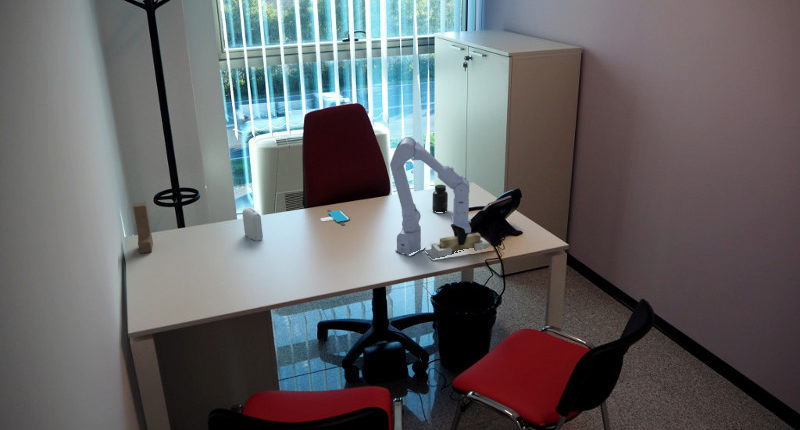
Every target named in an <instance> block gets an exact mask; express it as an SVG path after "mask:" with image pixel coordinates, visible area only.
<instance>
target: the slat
mask: <svg viewBox="0 0 800 430" xmlns="http://www.w3.org/2000/svg"><path fill="white" fill-rule="evenodd" d="M480 236H481V237H482V235H481V233H479V232H475V233H474V232H473V233H472V232H471V233H468V235H467V238H466V241H465V244H464V245H459V243H458V236H454V235H453V236H446V237H441V238H439V243H440V249H443V248H449V247H450V248H451V249H452V251H457V250H463V249H469V248H474V244H475V243H480Z"/></svg>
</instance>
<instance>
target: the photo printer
mask: <svg viewBox="0 0 800 430" xmlns="http://www.w3.org/2000/svg"><path fill="white" fill-rule="evenodd" d="M242 220H243V221H242V222H243V230H244V235H246V237H248V238H250V239H251V240H253V241H256V242H259V241H261V240H262V239H263V238H264V237H263V236H264V235H263V234H264V233H263V227H262V226H263V224H262V217H261V214H260V212H259V211H257V210H256V209H254V208H252V207H245V208H244V209H243V210H242Z"/></svg>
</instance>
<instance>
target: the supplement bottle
mask: <svg viewBox="0 0 800 430" xmlns="http://www.w3.org/2000/svg"><path fill="white" fill-rule="evenodd" d="M446 188H447V185H446V184H445V185H444V184H436V185H434V191H433V192H432V203H431V204H432V207H431V208H432V210H433V211H436V212H445V211H447V212H448V207H449V206H448V205H449V204H448V202H449V201H448V200H449V194H448V191H447V189H446ZM433 211H432V212H433Z"/></svg>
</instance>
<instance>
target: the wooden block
mask: <svg viewBox="0 0 800 430" xmlns="http://www.w3.org/2000/svg"><path fill="white" fill-rule="evenodd" d="M132 209H133V214H134V219H135V226H136V232H137V240H138V241H137V247H138V252H139V254H148V253H152V252H153V245H154V241H153V240H154V239H153V236H152V235H153V234H152V229H151V228H152V227H151V223H150V222H151V221H150V218H149V210H148V206H147V202H146V201H145V202H144V201H143V202H136V203H135V202H134V203H133V206H132Z"/></svg>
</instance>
